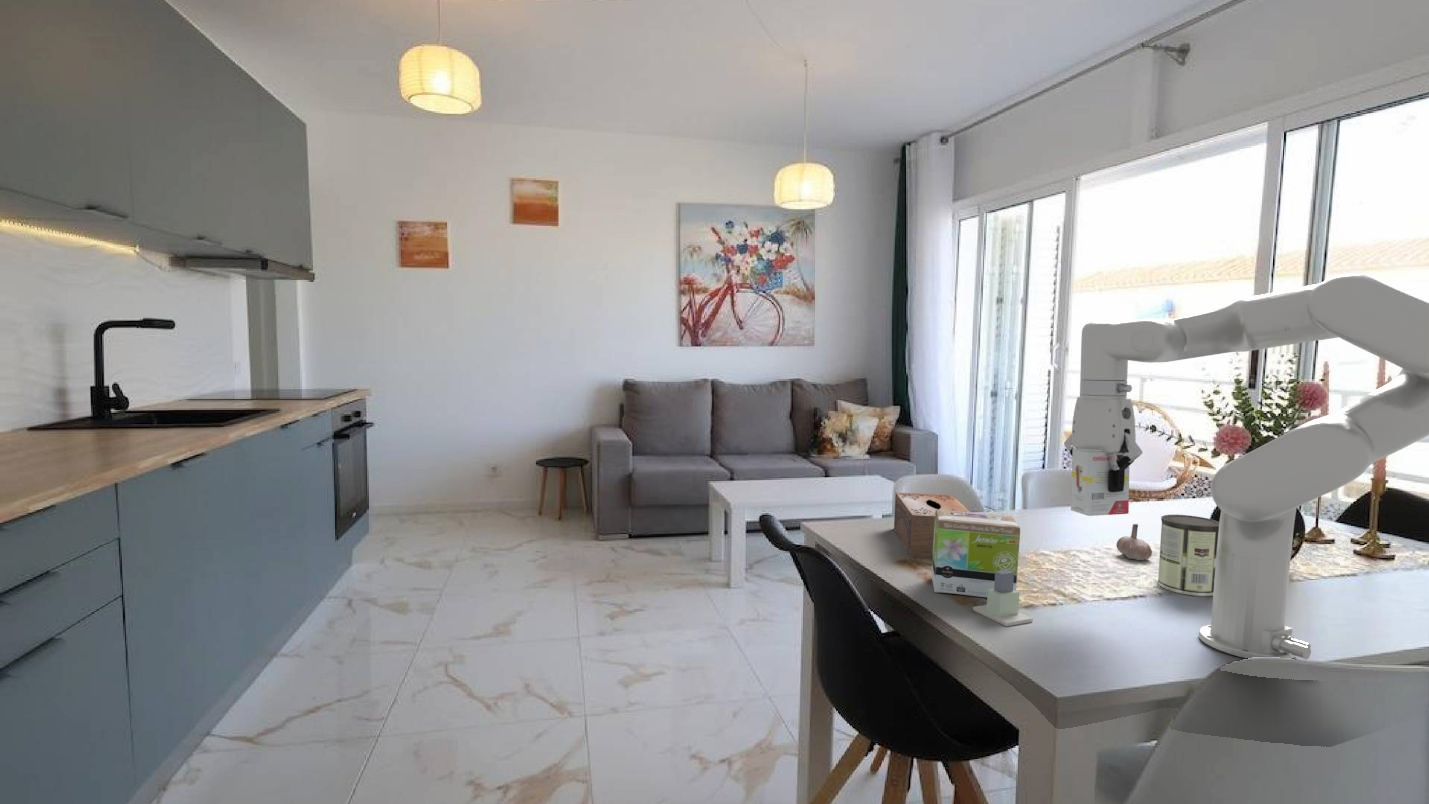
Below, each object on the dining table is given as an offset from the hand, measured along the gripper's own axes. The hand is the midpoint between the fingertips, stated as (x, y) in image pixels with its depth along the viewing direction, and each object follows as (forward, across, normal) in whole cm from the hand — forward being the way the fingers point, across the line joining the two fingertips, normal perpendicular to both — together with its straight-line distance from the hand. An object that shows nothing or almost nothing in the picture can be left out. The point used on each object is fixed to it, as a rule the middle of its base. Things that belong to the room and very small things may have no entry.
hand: (1099, 487), depth 131 cm
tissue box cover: (+22, +46, 0) cm, 51 cm away
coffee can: (+23, +2, -28) cm, 37 cm away
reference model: (+22, +3, +20) cm, 30 cm away
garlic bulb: (+23, +21, -38) cm, 50 cm away
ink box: (+5, 0, 0) cm, 5 cm away
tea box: (+22, +16, +14) cm, 31 cm away
